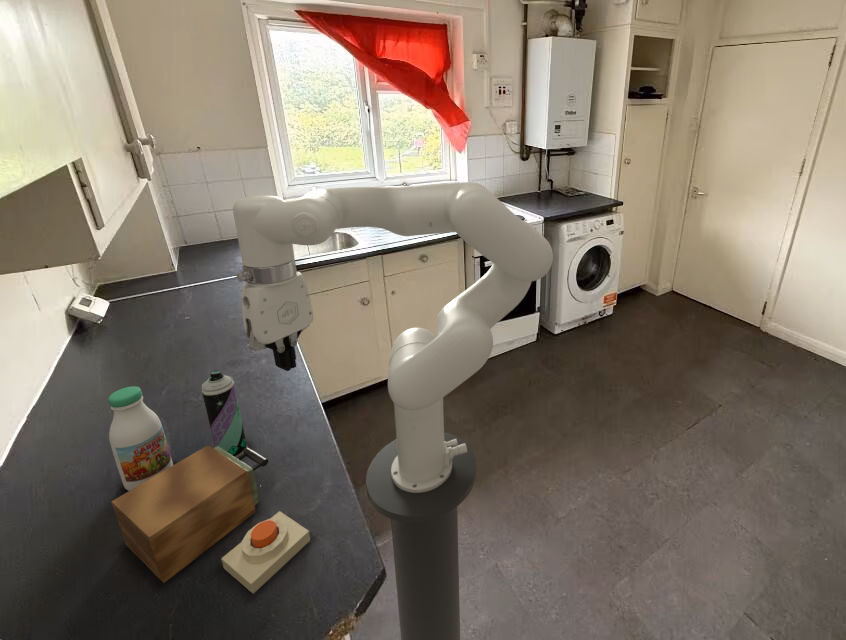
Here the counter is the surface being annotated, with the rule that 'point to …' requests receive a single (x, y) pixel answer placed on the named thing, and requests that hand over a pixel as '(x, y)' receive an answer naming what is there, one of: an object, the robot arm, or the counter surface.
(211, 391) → the spray can
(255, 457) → the drawer
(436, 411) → the robot arm
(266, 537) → the button
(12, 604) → the counter surface
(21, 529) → the counter surface
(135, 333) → the counter surface
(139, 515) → the cabinet
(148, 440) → the milk bottle
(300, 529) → the button box
